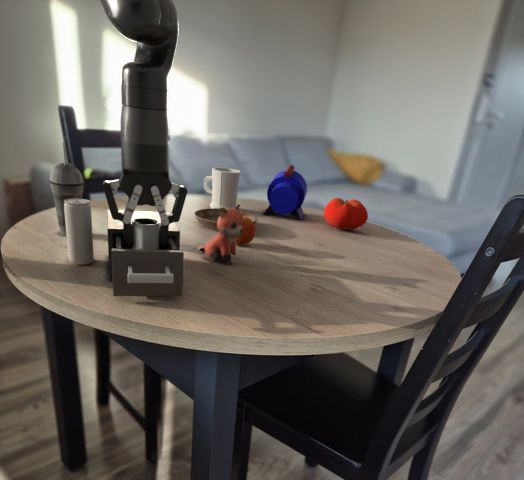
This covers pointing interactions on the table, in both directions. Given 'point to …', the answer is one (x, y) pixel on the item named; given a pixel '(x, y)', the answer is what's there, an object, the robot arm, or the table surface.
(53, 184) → the beverage cup
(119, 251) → the drawer
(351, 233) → the table surface
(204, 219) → the plant saucer
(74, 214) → the beverage can
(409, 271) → the table surface
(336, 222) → the tomato
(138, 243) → the grey hollow cylinder
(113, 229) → the cabinet
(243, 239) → the fruit
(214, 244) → the stuffed fox
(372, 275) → the table surface
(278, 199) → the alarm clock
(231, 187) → the cup
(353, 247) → the table surface
